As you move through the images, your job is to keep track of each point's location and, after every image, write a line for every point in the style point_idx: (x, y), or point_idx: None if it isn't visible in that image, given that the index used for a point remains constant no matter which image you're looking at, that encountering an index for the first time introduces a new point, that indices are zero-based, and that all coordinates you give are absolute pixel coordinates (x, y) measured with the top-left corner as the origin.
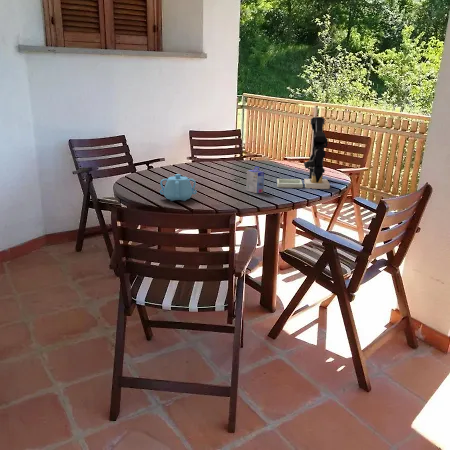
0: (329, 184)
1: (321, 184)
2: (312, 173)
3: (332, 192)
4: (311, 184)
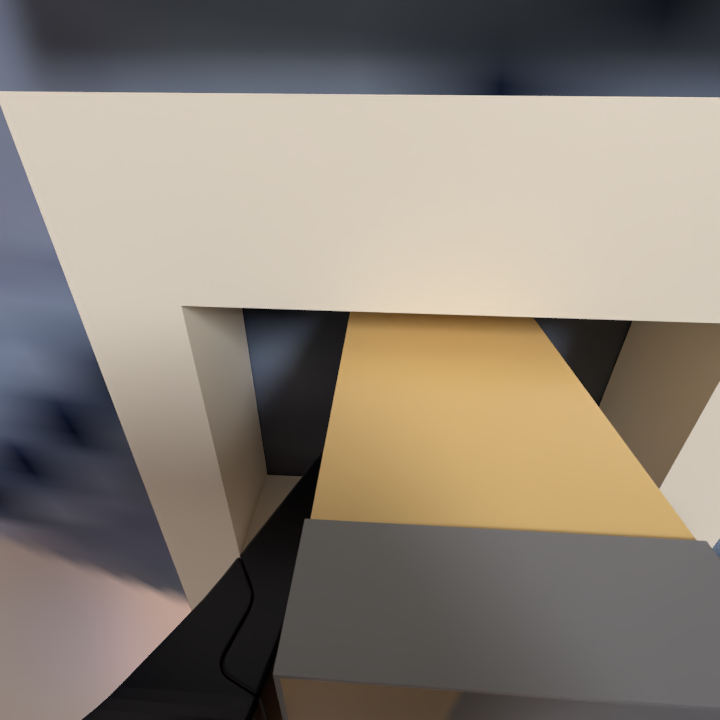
0: (193, 604)
1: (162, 502)
2: (362, 657)
3: (21, 529)
4: (91, 288)
